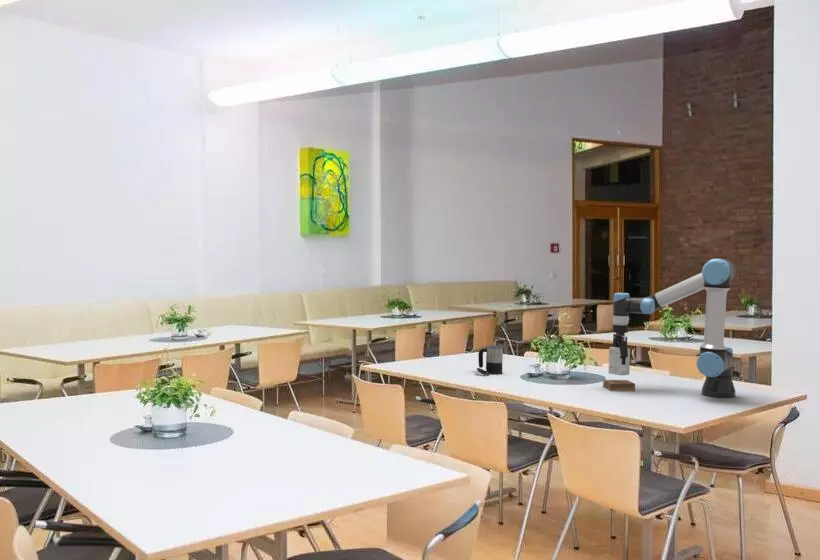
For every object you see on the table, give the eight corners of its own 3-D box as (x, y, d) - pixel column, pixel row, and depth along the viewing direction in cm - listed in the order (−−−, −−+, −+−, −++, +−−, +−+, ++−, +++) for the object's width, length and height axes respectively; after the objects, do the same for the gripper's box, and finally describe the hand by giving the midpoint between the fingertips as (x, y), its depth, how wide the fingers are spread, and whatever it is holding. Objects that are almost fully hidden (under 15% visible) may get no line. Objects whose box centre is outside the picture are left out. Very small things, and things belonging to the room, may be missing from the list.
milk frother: (503, 372, 452) (503, 345, 451) (503, 376, 436) (503, 349, 436) (477, 371, 453) (477, 344, 453) (476, 375, 438) (476, 348, 437)
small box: (629, 374, 401) (630, 348, 401) (621, 375, 397) (622, 349, 397) (615, 372, 407) (616, 346, 407) (608, 373, 403) (608, 347, 403)
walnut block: (634, 391, 397) (635, 383, 397) (610, 391, 396) (610, 383, 396) (626, 387, 409) (626, 379, 409) (603, 387, 408) (603, 379, 408)
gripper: (635, 326, 390) (634, 373, 391) (620, 322, 413) (619, 366, 414) (620, 326, 390) (619, 373, 391) (605, 322, 412) (604, 366, 413)
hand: (619, 369), depth 402 cm, fingers closed on small box, 10 cm apart
